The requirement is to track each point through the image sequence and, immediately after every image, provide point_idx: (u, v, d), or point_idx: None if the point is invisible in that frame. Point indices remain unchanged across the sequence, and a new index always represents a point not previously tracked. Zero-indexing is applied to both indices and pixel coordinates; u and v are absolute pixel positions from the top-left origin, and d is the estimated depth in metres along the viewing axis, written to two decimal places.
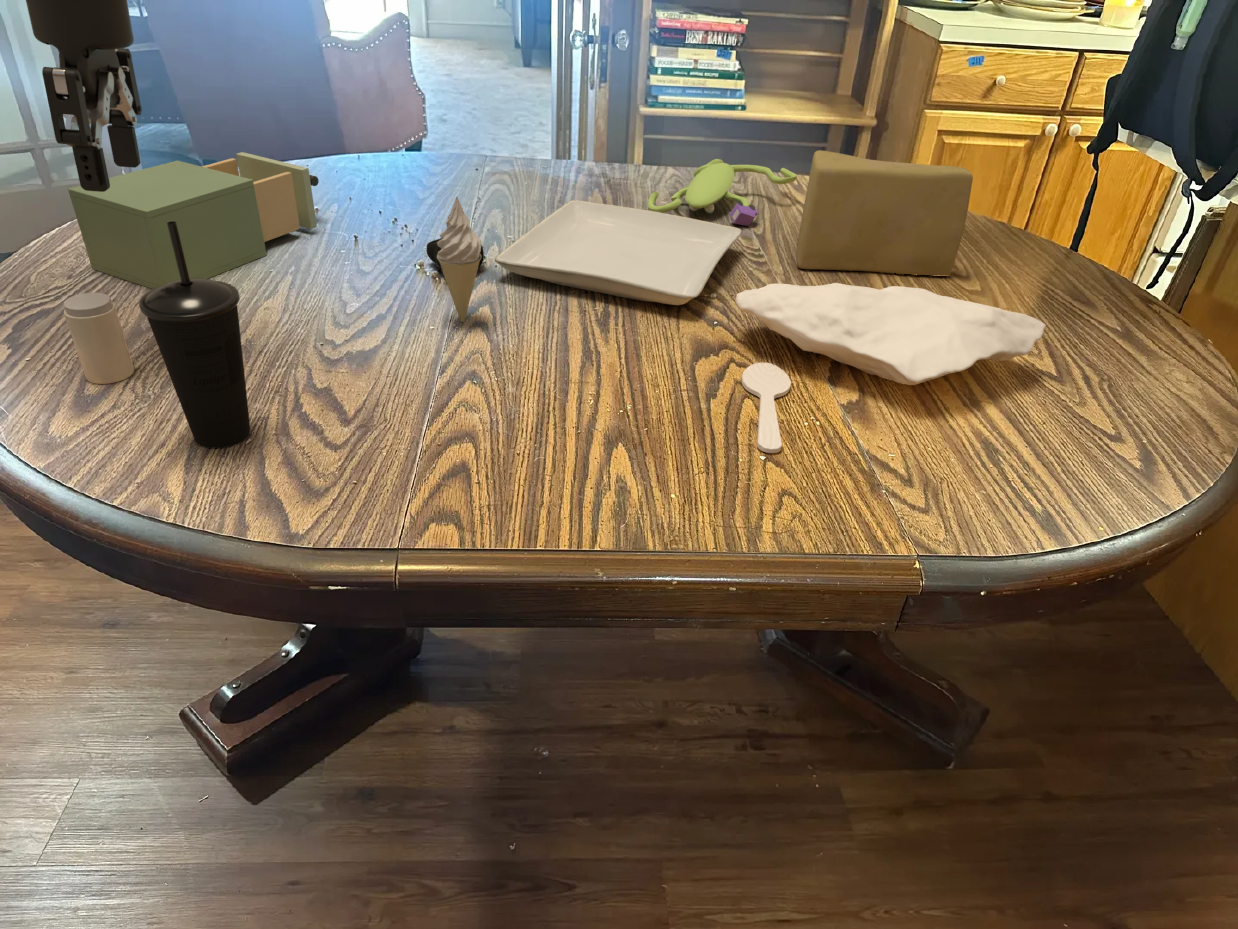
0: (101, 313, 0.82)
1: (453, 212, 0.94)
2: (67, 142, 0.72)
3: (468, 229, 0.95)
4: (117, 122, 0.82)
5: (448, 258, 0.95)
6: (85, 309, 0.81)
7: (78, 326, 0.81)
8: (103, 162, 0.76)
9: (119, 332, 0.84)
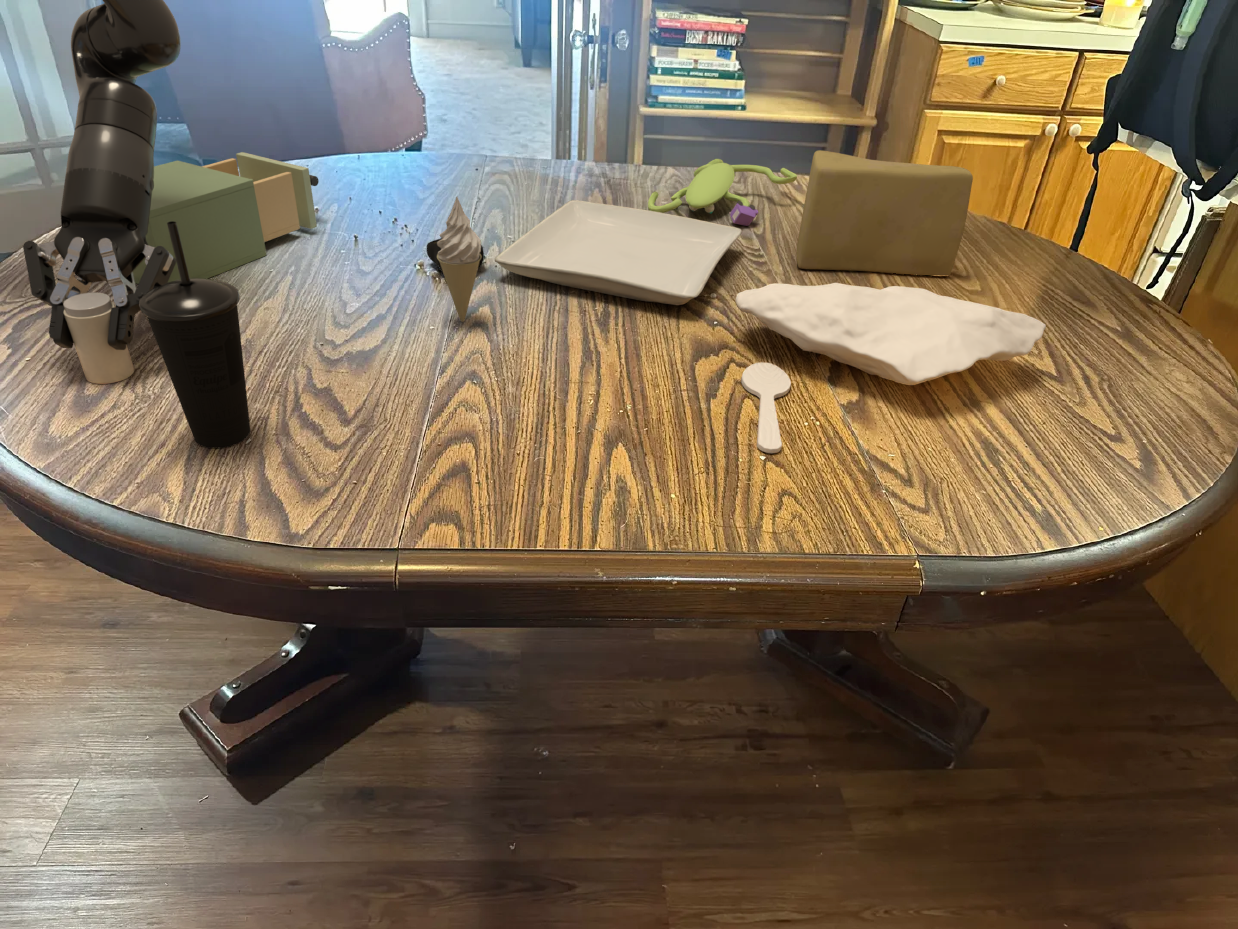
0: (101, 313, 0.82)
1: (453, 212, 0.94)
2: None
3: (468, 229, 0.95)
4: None
5: (448, 258, 0.95)
6: (85, 309, 0.81)
7: (78, 326, 0.81)
8: None
9: None
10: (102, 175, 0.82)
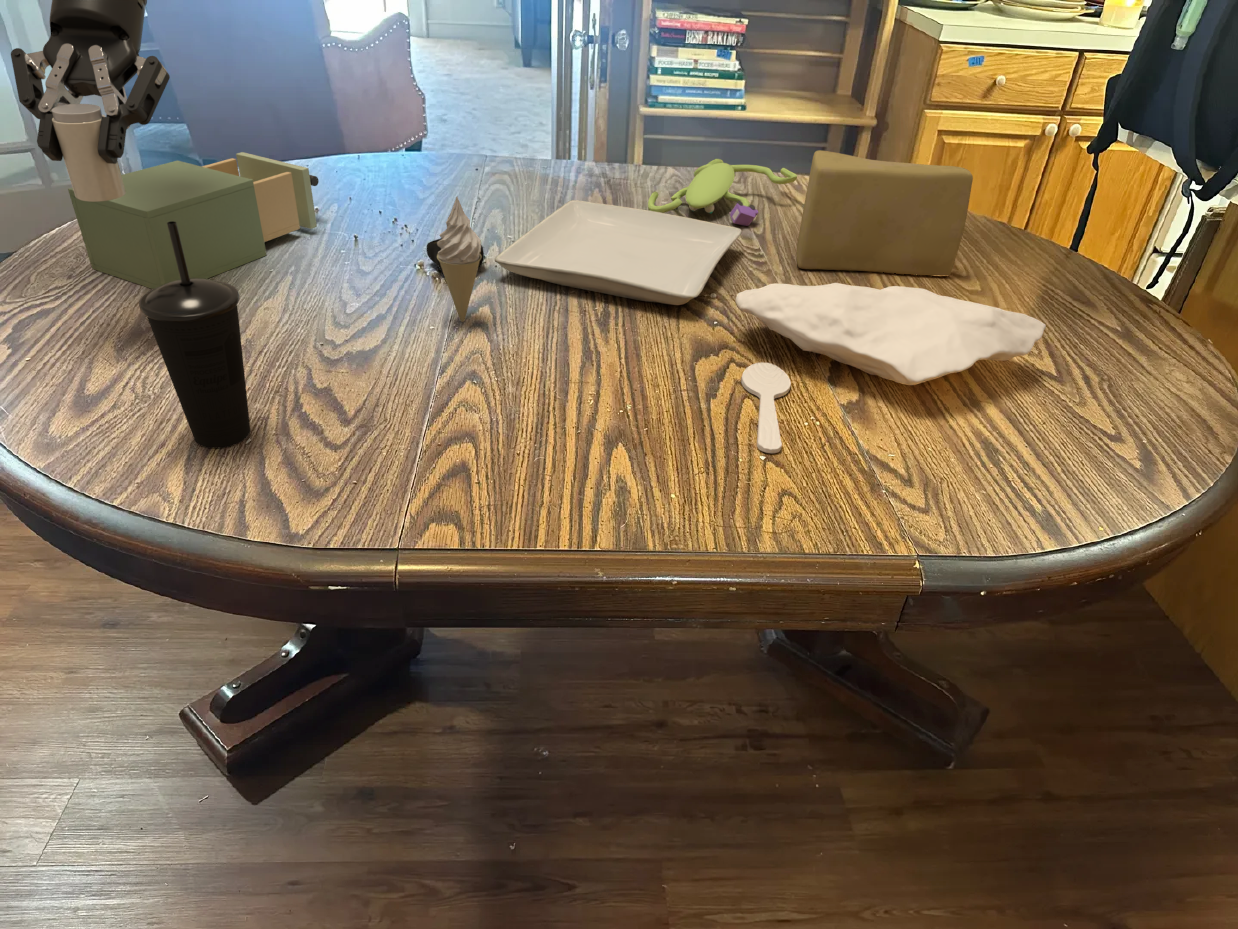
0: (90, 120, 0.79)
1: (453, 212, 0.94)
2: (140, 112, 0.81)
3: (468, 229, 0.95)
4: None
5: (448, 258, 0.95)
6: (74, 114, 0.78)
7: (67, 133, 0.78)
8: None
9: None
10: None
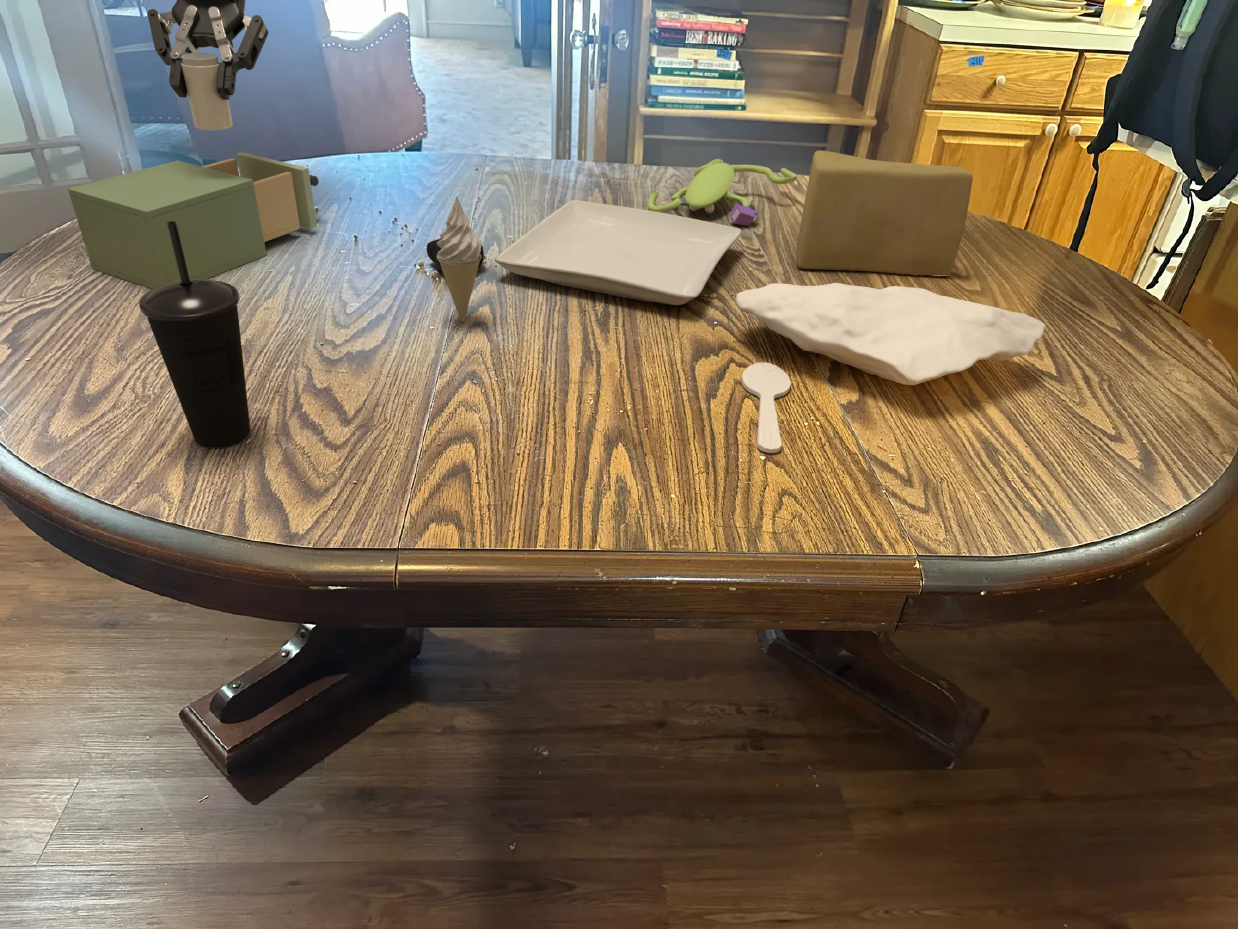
0: (211, 65, 1.01)
1: (453, 212, 0.94)
2: (247, 59, 1.03)
3: (468, 229, 0.95)
4: None
5: (448, 258, 0.95)
6: (199, 59, 1.00)
7: (193, 74, 1.01)
8: None
9: None
10: None
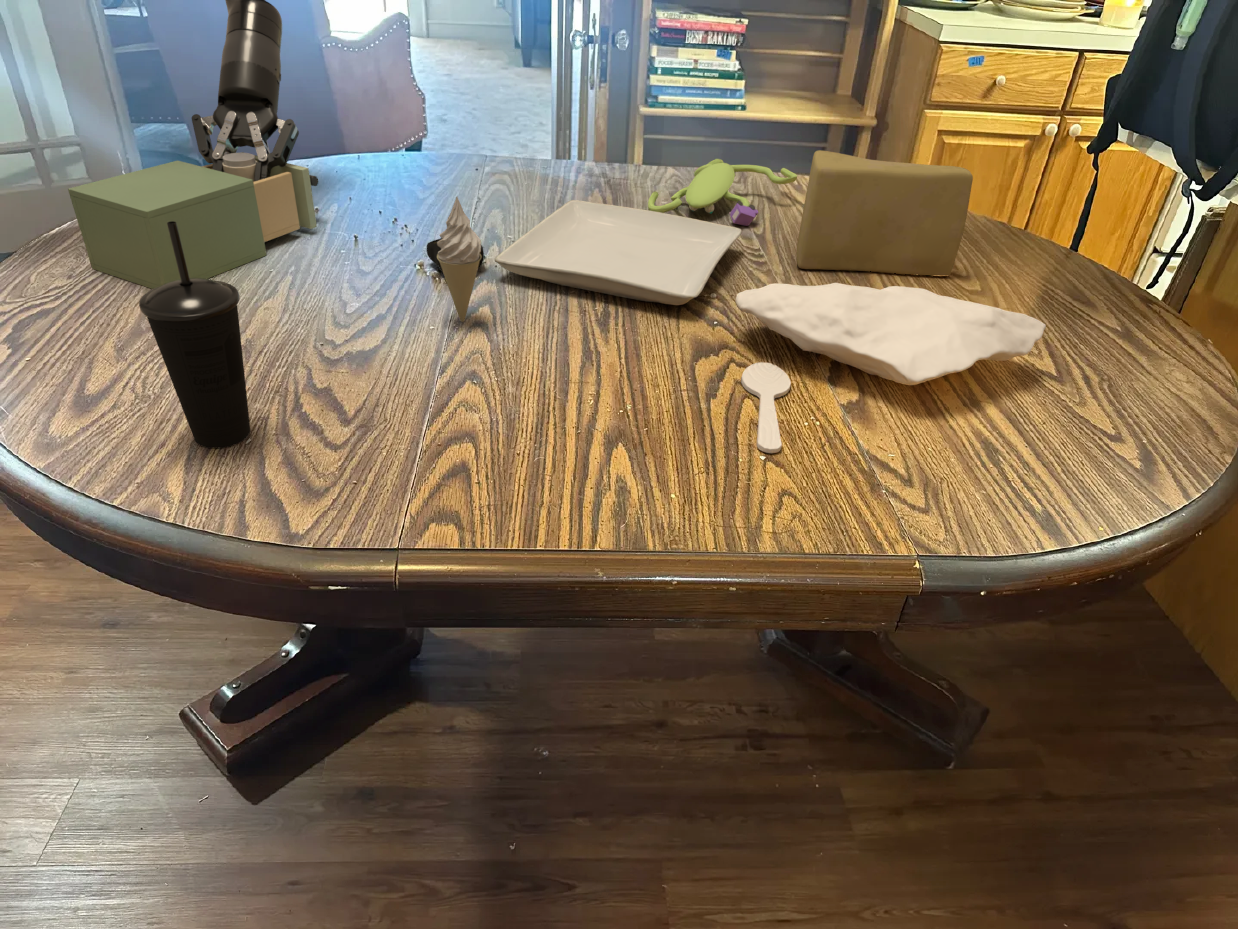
0: (249, 165, 1.13)
1: (453, 212, 0.94)
2: (281, 159, 1.15)
3: (468, 229, 0.95)
4: None
5: (448, 258, 0.95)
6: (239, 161, 1.12)
7: (233, 174, 1.13)
8: None
9: None
10: (249, 66, 1.14)
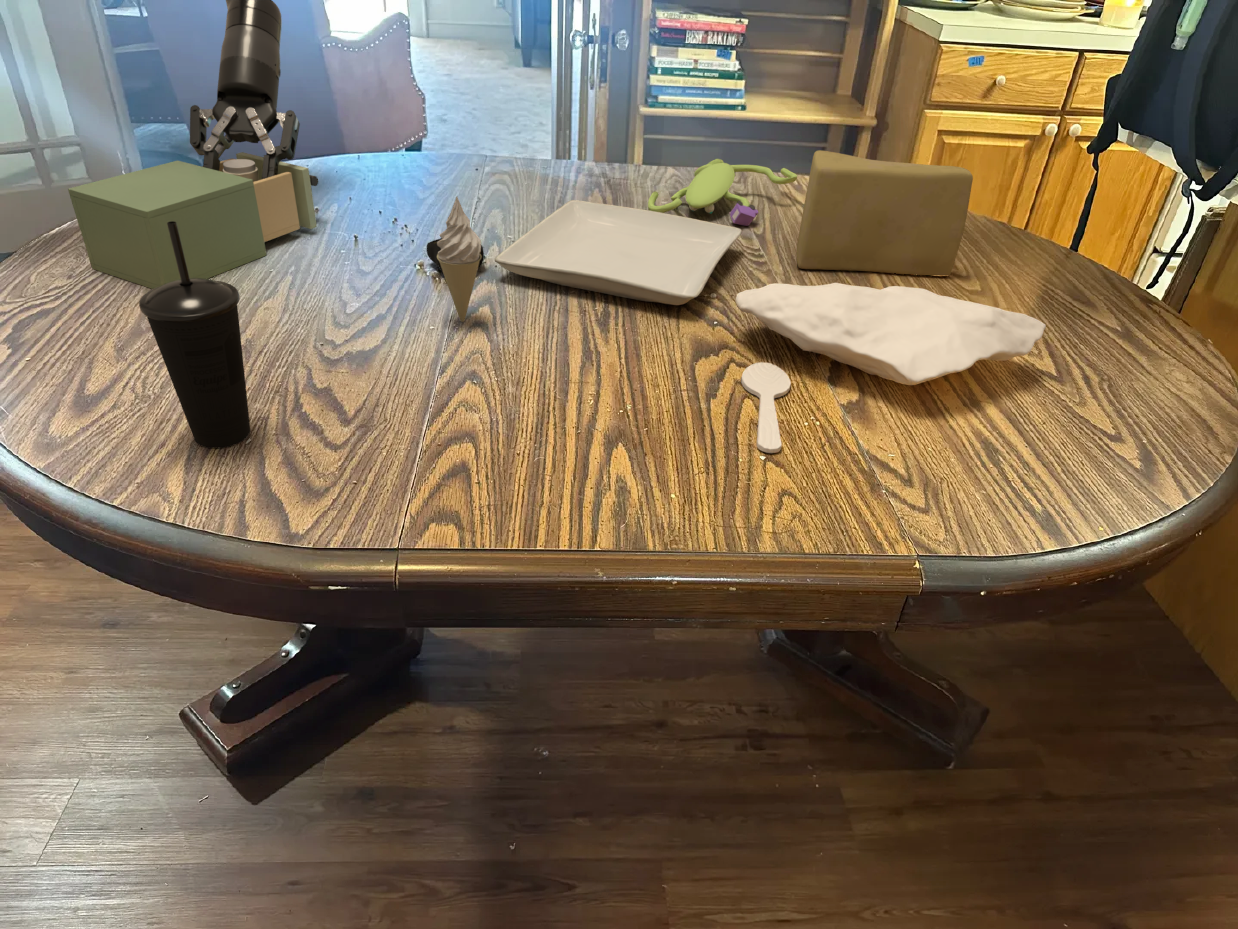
0: (249, 171, 1.14)
1: (453, 212, 0.94)
2: (289, 151, 1.15)
3: (468, 229, 0.95)
4: (215, 153, 1.14)
5: (448, 258, 0.95)
6: (239, 167, 1.13)
7: None
8: None
9: None
10: (249, 61, 1.13)
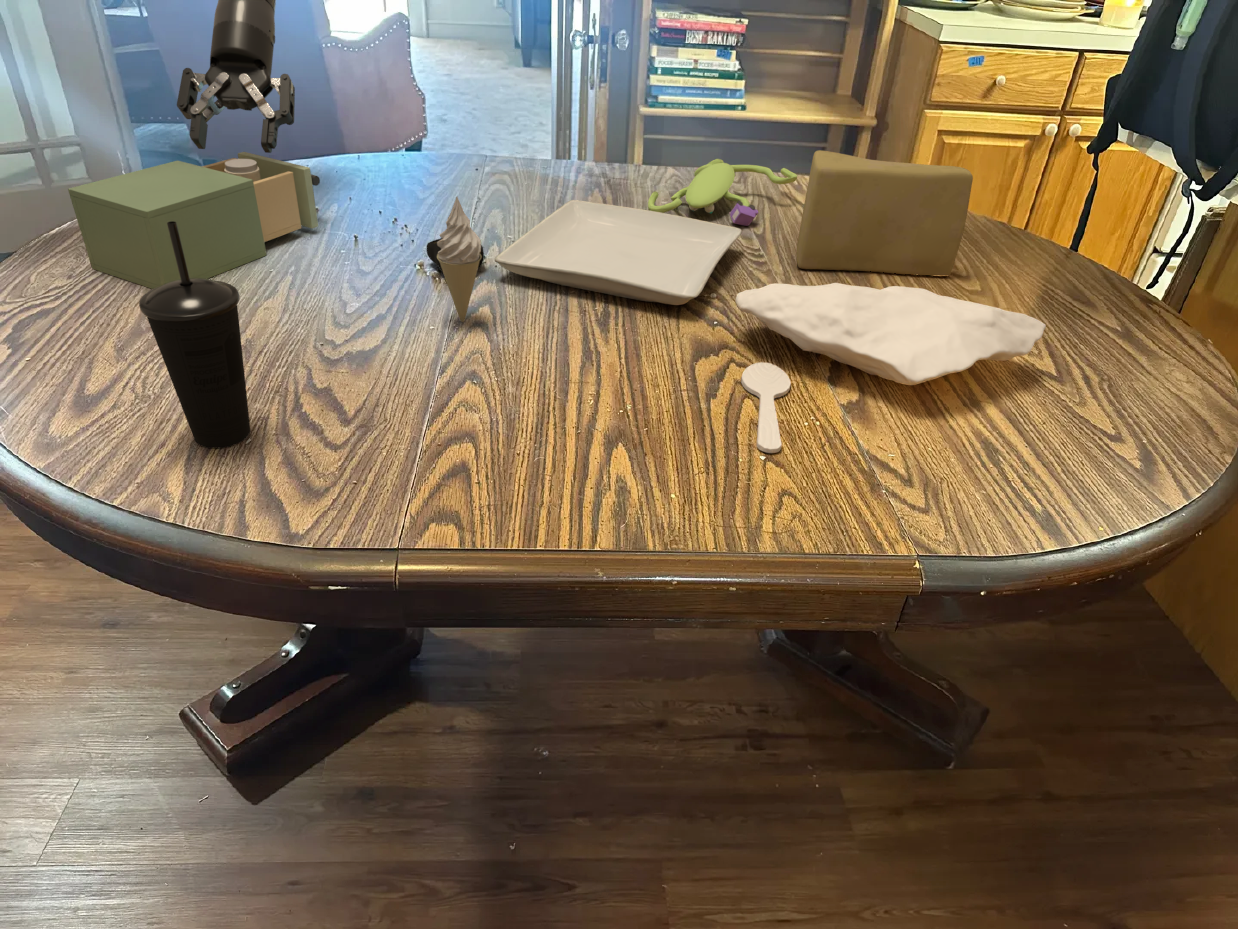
0: (251, 171, 1.14)
1: (453, 212, 0.94)
2: (288, 116, 1.13)
3: (468, 229, 0.95)
4: (203, 116, 1.12)
5: (448, 258, 0.95)
6: (241, 167, 1.13)
7: None
8: None
9: None
10: (242, 26, 1.11)
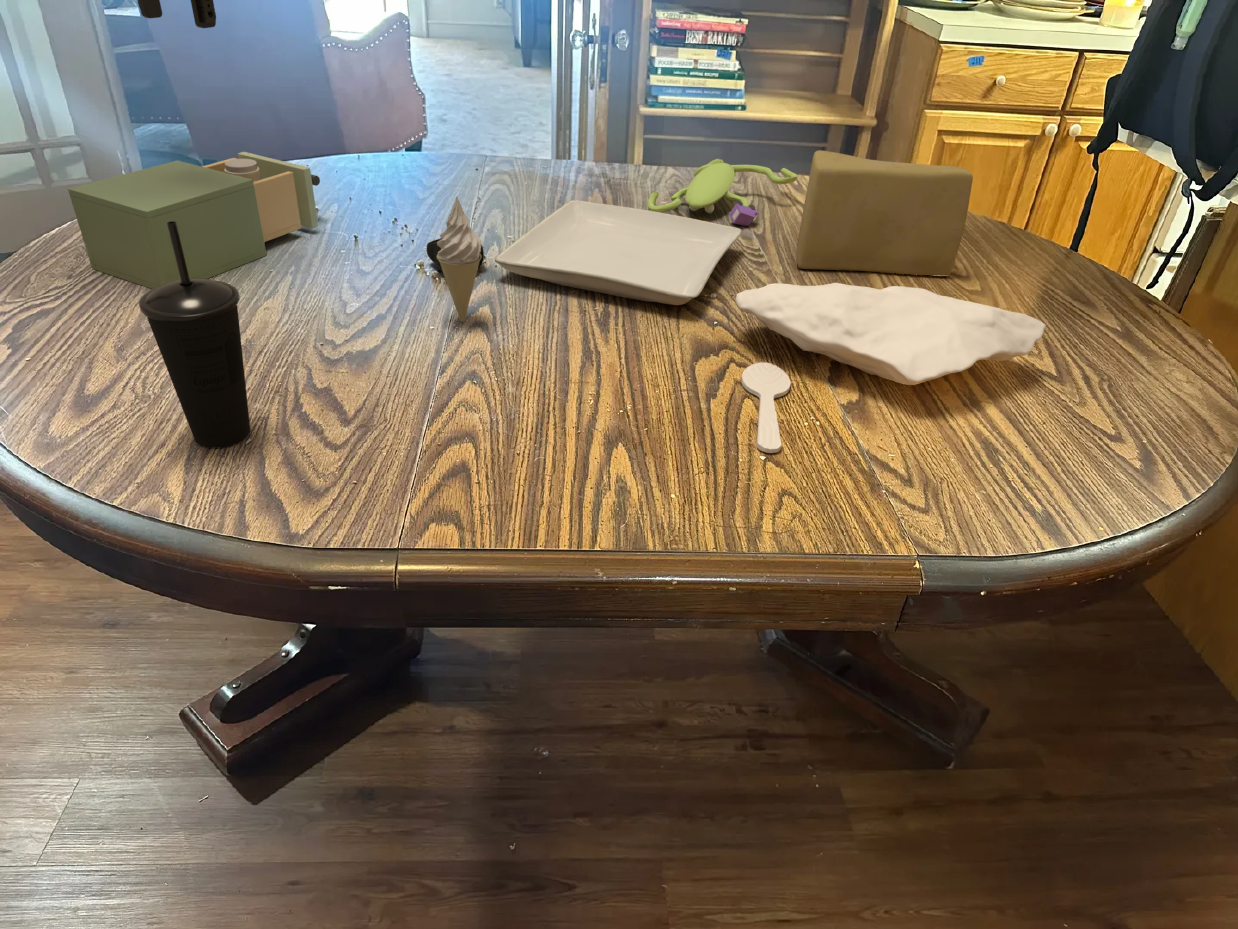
0: (251, 171, 1.14)
1: (453, 212, 0.94)
2: None
3: (468, 229, 0.95)
4: None
5: (448, 258, 0.95)
6: (241, 167, 1.13)
7: None
8: None
9: None
10: None
